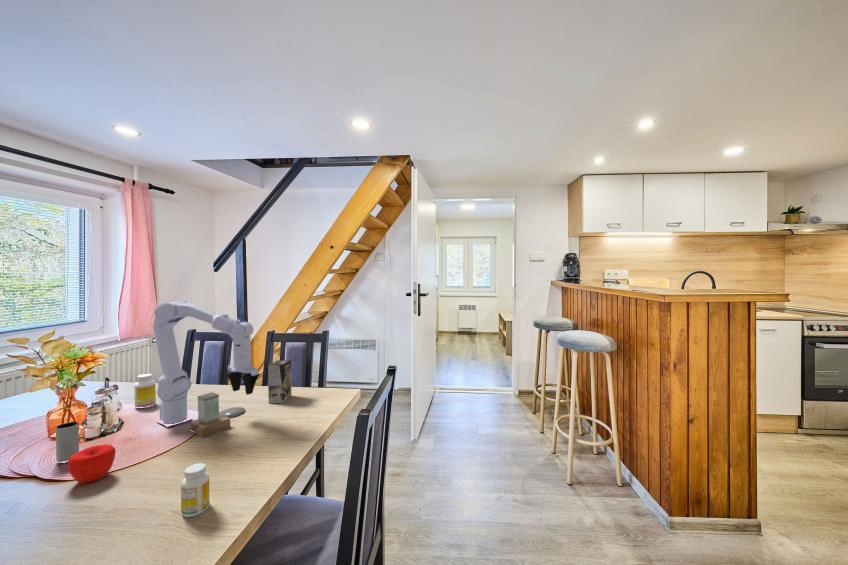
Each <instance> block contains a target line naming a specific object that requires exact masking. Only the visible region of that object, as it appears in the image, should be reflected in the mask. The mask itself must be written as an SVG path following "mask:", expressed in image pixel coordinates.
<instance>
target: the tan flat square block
mask: <svg viewBox="0 0 848 565" xmlns="http://www.w3.org/2000/svg"><path fill="white" fill-rule="evenodd" d="M230 427H231V418H228V417H226V416H223V415H221V414H219V420H217V421H214V422H211V423H208V424H205V425H204V424H202V423H200V422H198V418H197V419H195V420H190V421H189V431H190V430H192V431H194V432H195V433H196V434H195V433H194V434H195V435H197V436H199V437H201V438H204V437H207V436H210V435H213V434H215V433H218V432H220V431H222V430H225V429H228V428H230ZM192 431H191V432H192Z"/></svg>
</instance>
